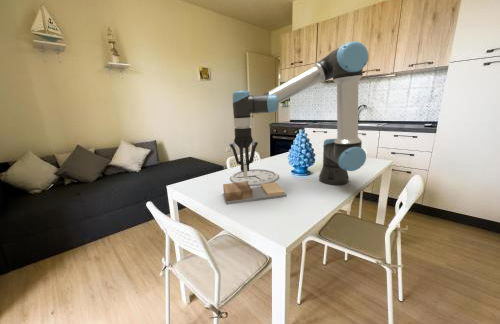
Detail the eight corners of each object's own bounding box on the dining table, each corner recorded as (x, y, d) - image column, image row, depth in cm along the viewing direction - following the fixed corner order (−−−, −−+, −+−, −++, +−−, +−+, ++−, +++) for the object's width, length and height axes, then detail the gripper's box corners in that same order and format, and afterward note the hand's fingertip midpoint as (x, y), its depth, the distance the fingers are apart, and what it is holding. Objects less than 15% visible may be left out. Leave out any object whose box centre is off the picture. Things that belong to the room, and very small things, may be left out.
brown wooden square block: (246, 181, 110) (223, 184, 108) (252, 189, 99) (225, 193, 96) (247, 188, 111) (223, 191, 109) (252, 198, 100) (226, 201, 97)
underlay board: (277, 186, 115) (277, 181, 115) (286, 196, 102) (286, 191, 101) (224, 192, 110) (223, 188, 110) (226, 204, 97) (226, 199, 96)
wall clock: (286, 170, 137) (267, 186, 112) (286, 173, 138) (267, 189, 112) (244, 166, 151) (219, 180, 126) (244, 168, 152) (219, 182, 126)
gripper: (255, 125, 102) (257, 174, 108) (227, 127, 100) (230, 176, 106) (259, 127, 95) (260, 178, 101) (229, 129, 93) (232, 181, 98)
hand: (245, 177), depth 103 cm, fingers closed
